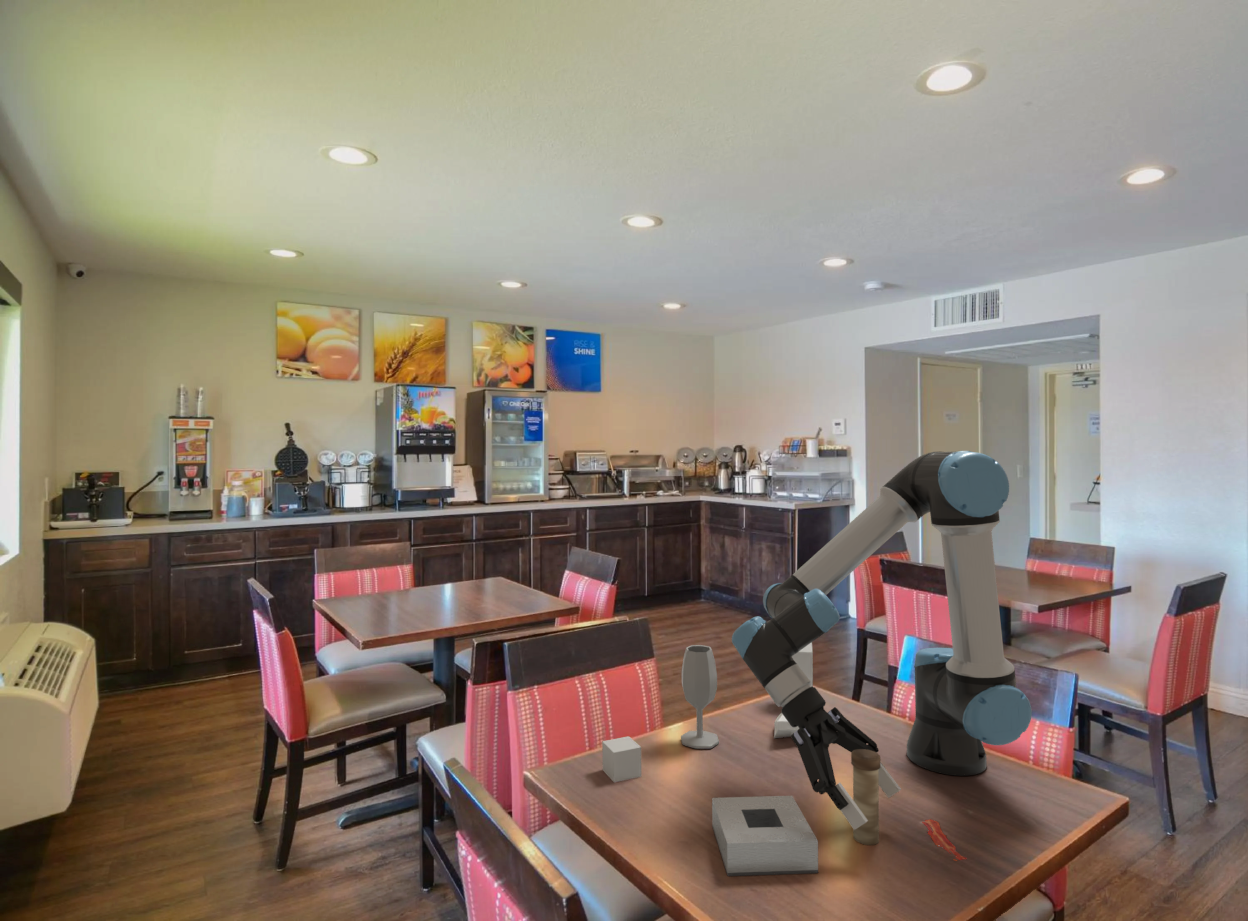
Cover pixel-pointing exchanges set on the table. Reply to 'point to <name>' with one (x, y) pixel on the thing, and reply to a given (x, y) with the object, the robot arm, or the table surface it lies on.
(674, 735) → the table surface
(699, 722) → the wineglass
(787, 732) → the soft serve ice cream
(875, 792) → the beige cylinder
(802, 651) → the milk carton
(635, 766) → the grey cube
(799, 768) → the table surface
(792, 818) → the block
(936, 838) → the bacon strip
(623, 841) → the table surface
